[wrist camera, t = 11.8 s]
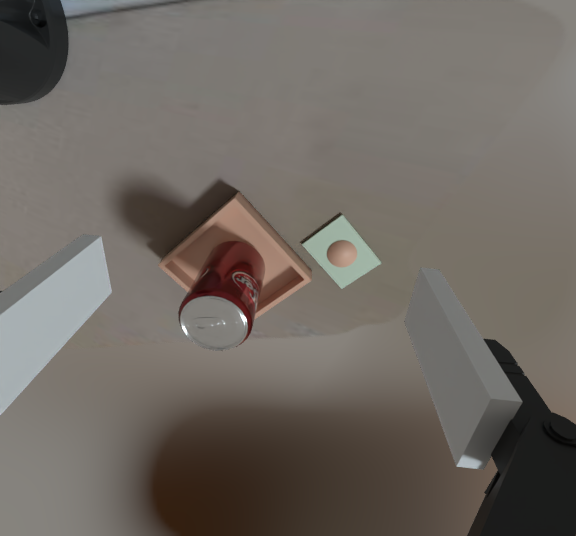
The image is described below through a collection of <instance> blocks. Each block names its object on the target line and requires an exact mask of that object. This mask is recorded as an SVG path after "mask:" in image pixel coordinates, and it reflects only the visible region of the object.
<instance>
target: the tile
mask: <svg viewBox="0 0 576 536" xmlns="http://www.w3.org/2000/svg"><path fill="white" fill-rule="evenodd" d="M302 245H303V246H304V248H305V249H306V250H307V251H308V252H309V253H310V254H311V255H312V256H313V258H314V259H315V260H316V261H317V262H318V263H319V264H320V265H321V266H322V268H323V269H324V270H325V271H326V272H327V273H328V274H329V275H330V276H331V278H332V279H333V280H334V281H335V282H336V283H337V284H338V285H339V286H340V288H341V289H342V288H344V287H345V286H347V285H349V284H350V283H352V282H353V281H355V280H356V279H358V278H359V277H361V276H362V275H364V274H366V273H367V272H369V271H370V270H372V269H373V268H375V267H376V266H378V265H379V264H381V261H380V260H379V259H378V257H377V256H376V255H375V254H374V252H373V251H372V250H371V249H370V247H369V246H368V245H367V244H366V243H365V241H364V240H363V239H362V238H361V236H360V235H359V234H358V233H357V232H356V230H355V229H354V228H353V227H352V225H351V224H350V223H349V222H348V220H347V219H346V218H345V217H344V216H343V214H342V215H340V216H339V217H338V218H336V219H335V220H333V221H332V222H331V223H329V224H328V225H327V226H325V227H324V228H323V229H321V230H320V231H319V232H317V233H316V234H315V235H313V236H312V237H310V238H309V239H308V240H306V241H305V242H304V243H302Z"/></svg>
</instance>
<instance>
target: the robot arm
mask: <svg viewBox="0 0 576 536" xmlns="http://www.w3.org/2000/svg"><path fill="white" fill-rule="evenodd" d="M67 55H68V30H67V24H66V19H65V14H64V11H63V7H62V4H61V1H60V0H0V105H11V104H21V103H28V102H32V101H35V100H38V99H40V98H42V97H43V96H45V95H46V94H48V93H49V92H50V91H51V90H52V89H53V88H54V87H55V86H56V84H57V83H58V81H59V80H60V78H61V76H62V74H63V71H64V68H65V65H66V61H67ZM111 293H112V291H111V285H110V280H109V275H108V270H107V265H106V259H105V254H104V249H103V244H102V239H101V236H94V235H84V234H83V235H81V236H80V237H78V238H77V239H76V240H74V241H73V242H71V243H70V244H69V245H67V246H66V247H64V248H63V249H62V250H60V251H59V252H57V253H56V254H54V255H53V256H52V257H50V258H49V259H47V260H46V261H45V262H43V263H42V264H40V265H39V266H38V267H36V268H35V269H33V270H32V271H31V272H29V273H28V274H26V275H25V276H24V277H22V278H21V279H19V280H18V281H17V282H15V283H14V284H12V285H11V286H10V287H8V288H7V289H5V290H4V291H0V415H1V414H2V413H3V412H4V411H5V410H6V408H7V407H8V406H9V405H10V404H11V403H12V402H13V401H14V399H15V398H16V397H17V396H18V395H19V394H20V393H21V392H22V391H23V390H24V389H25V387H26V386H27V385H28V384H29V383H30V382H31V381H32V380H33V379H34V378H35V376H36V375H37V374H38V373H39V372H40V371H41V370H42V369H43V368H44V366H45V365H46V364H47V363H48V362H49V361H50V360H51V359H52V358H53V356H54V355H55V354H56V353H57V352H58V351H59V350H60V349H61V348H62V347H63V346H64V344H65V343H66V342H67V341H68V340H69V339H70V338H71V337H72V336H73V335H74V333H75V332H76V331H77V330H78V329H79V328H80V327H81V326H82V325H83V324H84V322H85V321H86V320H87V319H88V318H89V317H90V316H91V315H92V314H93V313H94V311H95V310H96V309H97V308H98V307H99V306H100V305H101V304H102V303H103V301H104V300H105V299H106V298H107V297H108V296H109V295H110V294H111ZM404 322H405V325H406V328H407V331H408V333H409V336H410V339H411V341H412V345H413V347H414V350H415V353H416V356H417V358H418V361H419V364H420V366H421V370H422V372H423V375H424V378H425V381H426V383H427V386H428V389H429V392H430V395H431V397H432V400H433V403H434V406H435V408H436V411H437V414H438V417H439V419H440V422H441V425H442V428H443V431H444V433H445V436H446V439H447V442H448V444H449V447H450V450H451V453H452V456H453V458H454V461H455V464H456V466H457V467H467V468H475V469H484V468H485V466H486V465H487V463H488V461H489V460H490V458H491V456H492V457H493V460H494V462H495V464H496V467H497V469H498V471H497V473H496V475H495V476H494V478H493V479H492V481H491V483H490V484H489V486H488V488H487V490H486V491H485V494H486V495H485V498H484V500H483V502H482V504H481V506H480V509H479V511H478V513H477V515H476V517H475V520H474V522H473V524H472V526H471V528H470V531H469V533H468V535H467V536H576V424H574V423H573V422H571V421H570V420H568V419H566V418H565V417H562V416H560V415H558V414H555V413H551V411H550V410H549V409H548V407H547V405H546V404H545V402H544V401H543V399H542V398H541V397H540V395H539V394H538V392H537V391H536V389H535V388H534V387H533V385H532V384H531V382H530V381H529V379H528V378H527V377H526V376H524V372H523V371H522V369H521V368H520V367H519V366H517V362H516V361H515V359H514V358H513V356H512V355H511V353H510V352H509V351H508V350H507V349H506V348H504V347H503V346H502V345H501V344H500V343H498V342H497V341H496V340H490V339H483V338H482V336H481V335H480V333H479V332H478V330H477V329H476V327H475V325H474V324H473V322H472V321H471V319H470V317H469V316H468V314H467V313H466V311H465V310H464V308H463V306H462V305H461V303H460V302H459V300H458V299H457V297H456V295H455V294H454V292H453V291H452V289H451V287H450V286H449V284H448V283H447V281H446V279H445V278H444V276H443V275H442V273H441V271H440V270H439V269H430V268H420V270H419V274H418V277H417V280H416V284H415V287H414V290H413V294H412V297H411V301H410V304H409V307H408V311H407V314H406V318H405V321H404Z"/></svg>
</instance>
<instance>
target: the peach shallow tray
mask: <svg viewBox="0 0 576 536" xmlns="http://www.w3.org/2000/svg"><path fill="white" fill-rule="evenodd" d="M227 241H240V242H244V243H247V244H248V245H250V246H252V247H253V248H255V249H256V250H257V251H258V252H259V253H260V255H261V256H262V258H263V260H264V263H265V276H264V280H263V284H262V289H261V293H260V297H259V301H258V305H257V310H256V314H255V318H254V319H256V318H257V317H259V316H260V315H262V314H263V313H265V312H266V311H267V310H269V309H270V308H272V307H273V306H275V305H276V304H278V303H279V302H281V301H282V300H284V299H285V298H286V297H288V296H289V295H291V294H292V293H294V292H295V291H297V290H298V289H300V288H301V287H303V286H304V285H306V284H307V283H308V282H310V281H311V280H312V270H311V269H310V268H309V267H308V266H307V265H306V264H305V262H304V261H303V260H302V259H301V258H300V257H299V256H298V255H297V254H296V253H295V252H294V250H293V249H292V248H291V247H290V246H289V245H288V244H287V243H286V242H285V241H284V240H283V238H282V237H281V236H280V235H279V234H278V233H277V232H276V231H275V230H274V229H273V228H272V226H271V225H270V224H269V223H268V222H267V221H266V220H265V219H264V218H263V217H262V216H261V214H260V213H259V212H258V211H257V210H256V209H255V208H254V207H253V206H252V205H251V204H250V203H249V201H248V200H247V199H246V198H245V197H244V196H243V195H242V194H241V193H240V192H239V191H238V192H237V193H236V194H235V195H234V196H233V197H232V198H230V199H229V200H228V201H227V202H226V203H225V204H224V205H222V206H221V207H220V208H219V209H218V210H217V211H216V212H214V213H213V214H212V215H211V216H210V217H209V218H208V219H206V220H205V221H204V222H203V223H202V224H201V225H200V226H198V227H197V228H196V229H195V230H194V231H193V232H192V233H191V234H189V235H188V236H187V237H186V238H185V239H184V240H183V241H181V242H180V243H179V244H178V245H177V246H176V247H175V248H173V249H172V250H171V251H170V252H169V253H168V254H167V255H165V257H164V258H163V259H162V260H161V262H160V263H159V264H158V266H159V267H160V268H161V269H163V270H164V271H165V272H166V273H167V274H168V275H169V276H170V277H171V278H173V279H174V280H175V281H176V282H177V283H178V284H179V285H180V286H182V287H183V288H184V289H185V290H186V291H187V292H188V291H189V289H190V287H191V286H192V284H193V282H194V280H195V279H196V277H197V275H198V273H199V271H200V270H201V268H202V266H203V264H204V263H205V261H206V259H207V257H208V255H209V254H210V252H211V251H212V250H213V248H214V247H216V246H217V245H219V244H221V243H223V242H227Z"/></svg>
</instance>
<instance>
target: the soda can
mask: <svg viewBox="0 0 576 536" xmlns="http://www.w3.org/2000/svg"><path fill="white" fill-rule="evenodd" d="M264 276H265V263H264V260H263V258H262V256H261V255H260V253H259V252H258V251H257V250H256V249H255V248H253V247H252V246H250V245H248V244H247V243H244V242H240V241H227V242H223V243H221V244H219V245H217V246H216V247H214V248H213V250H212V251H211V252H210V254H209V255H208V257H207V259H206V261H205V263H204V264H203V266H202V268H201V270H200V271H199V273H198V275H197V277H196V279H195V280H194V282H193V284H192V286H191V287H190V289H189V291H188V293H187V295H186V296H185V298H184V300H183V302H182V304H181V306H180V308H179V323H180V326H181V328H182V330H183V331H184V333H185V334H186V336H187V337H188V338H189V339H190V340H191V341H192V342H194V343H195V344H197V345H198V346H200V347H203V348H206V349H209V350H215V351H223V350H228V349H231V348H234V347H237V346H238V345H240V344H242V343H243V342H244V341H245V340H246V339H247V338H248V336H249V335H250V333H251V330H252V327H253V322H254V318H255V314H256V310H257V305H258V301H259V297H260V293H261V289H262V284H263V280H264Z"/></svg>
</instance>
